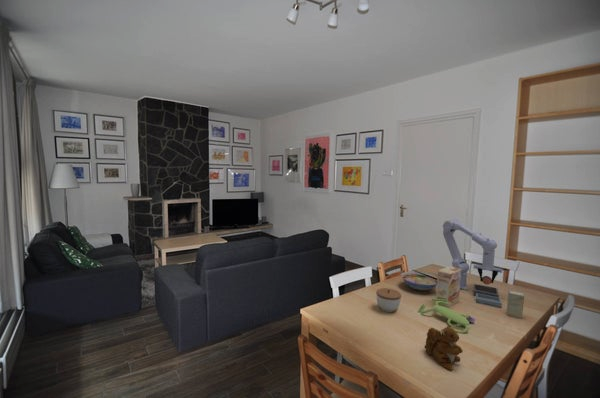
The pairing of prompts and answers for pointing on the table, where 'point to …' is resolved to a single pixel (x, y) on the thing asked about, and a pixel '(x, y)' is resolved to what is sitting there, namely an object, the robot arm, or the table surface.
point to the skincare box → (515, 304)
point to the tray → (488, 300)
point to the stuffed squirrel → (443, 346)
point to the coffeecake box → (448, 285)
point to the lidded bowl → (388, 299)
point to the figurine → (449, 315)
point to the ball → (486, 280)
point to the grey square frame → (485, 290)
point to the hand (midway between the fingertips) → (486, 281)
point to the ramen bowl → (419, 280)
